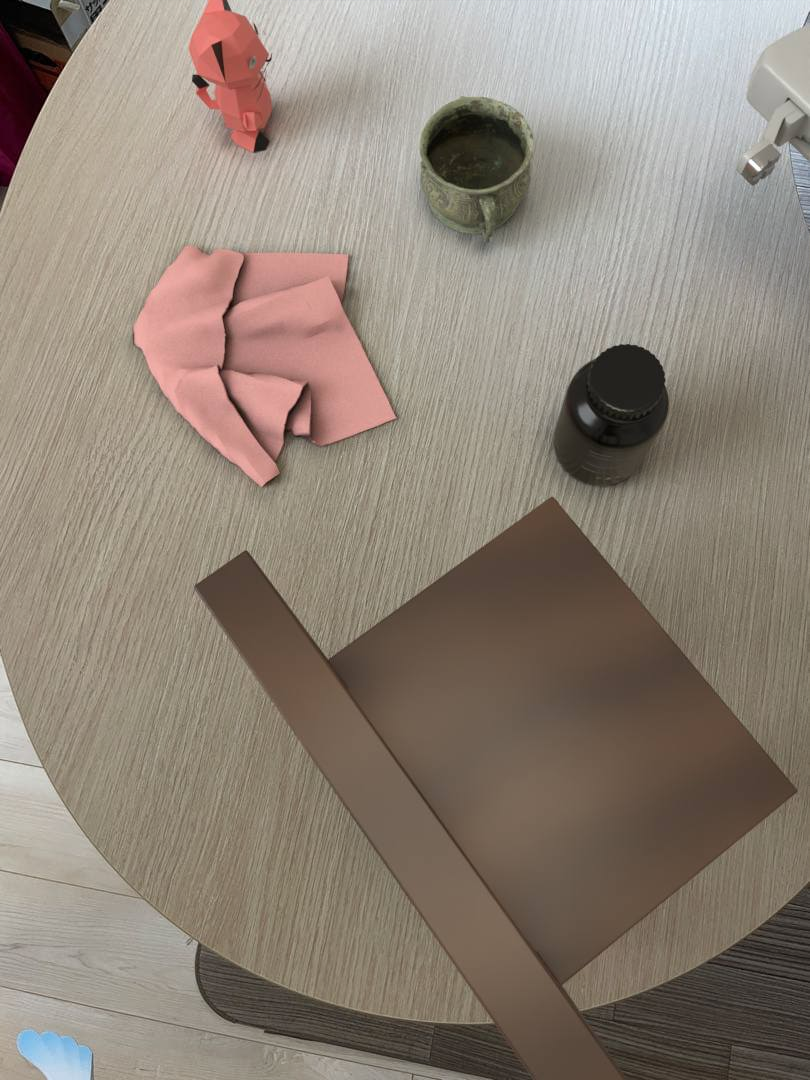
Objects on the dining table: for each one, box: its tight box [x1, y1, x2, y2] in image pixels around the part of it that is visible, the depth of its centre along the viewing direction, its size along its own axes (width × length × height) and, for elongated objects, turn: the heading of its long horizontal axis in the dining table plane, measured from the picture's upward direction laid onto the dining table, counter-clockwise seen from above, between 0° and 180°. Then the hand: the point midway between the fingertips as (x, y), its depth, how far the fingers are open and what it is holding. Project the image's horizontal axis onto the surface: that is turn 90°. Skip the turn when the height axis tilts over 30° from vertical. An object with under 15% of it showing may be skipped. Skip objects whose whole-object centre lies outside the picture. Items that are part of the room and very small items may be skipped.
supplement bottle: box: [553, 343, 670, 487], centre depth 65 cm, size 7×7×12 cm
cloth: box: [131, 245, 397, 488], centre depth 72 cm, size 20×22×2 cm
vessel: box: [418, 95, 535, 244], centre depth 74 cm, size 12×9×6 cm
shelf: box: [193, 496, 798, 1080], centre depth 43 cm, size 16×14×44 cm
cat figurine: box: [188, 0, 273, 154], centre depth 74 cm, size 7×7×12 cm
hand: (799, 225), depth 56 cm, fingers open, 8 cm apart
